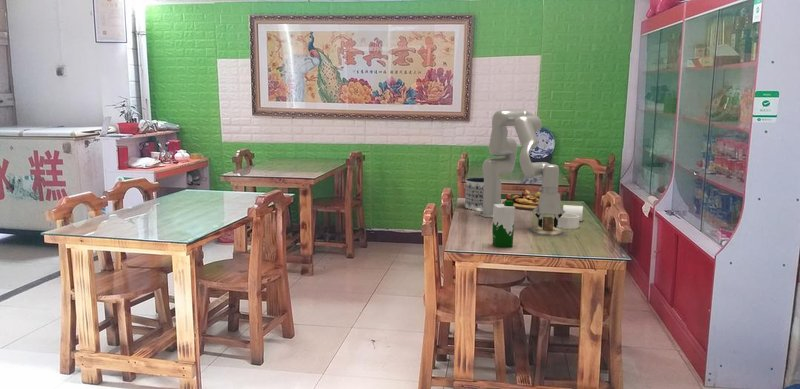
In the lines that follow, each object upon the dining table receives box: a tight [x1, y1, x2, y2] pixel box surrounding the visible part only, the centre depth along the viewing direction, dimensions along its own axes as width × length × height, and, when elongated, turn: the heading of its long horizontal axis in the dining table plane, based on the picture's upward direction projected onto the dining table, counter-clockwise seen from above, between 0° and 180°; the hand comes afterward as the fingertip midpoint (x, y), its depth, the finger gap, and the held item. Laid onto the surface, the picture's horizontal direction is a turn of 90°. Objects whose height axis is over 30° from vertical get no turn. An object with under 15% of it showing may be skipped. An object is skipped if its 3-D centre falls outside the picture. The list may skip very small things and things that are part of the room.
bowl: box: [557, 213, 580, 230], centre depth 317 cm, size 11×11×6 cm
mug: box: [562, 204, 584, 222], centre depth 335 cm, size 12×10×8 cm
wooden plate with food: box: [502, 189, 541, 212], centre depth 374 cm, size 32×32×8 cm
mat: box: [527, 227, 569, 237], centre depth 304 cm, size 16×16×1 cm
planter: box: [464, 177, 484, 211], centre depth 364 cm, size 18×18×16 cm
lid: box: [532, 216, 564, 235], centre depth 303 cm, size 14×14×7 cm
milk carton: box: [491, 200, 516, 248], centre depth 278 cm, size 9×9×20 cm
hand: (547, 226), depth 304 cm, fingers open, 6 cm apart
